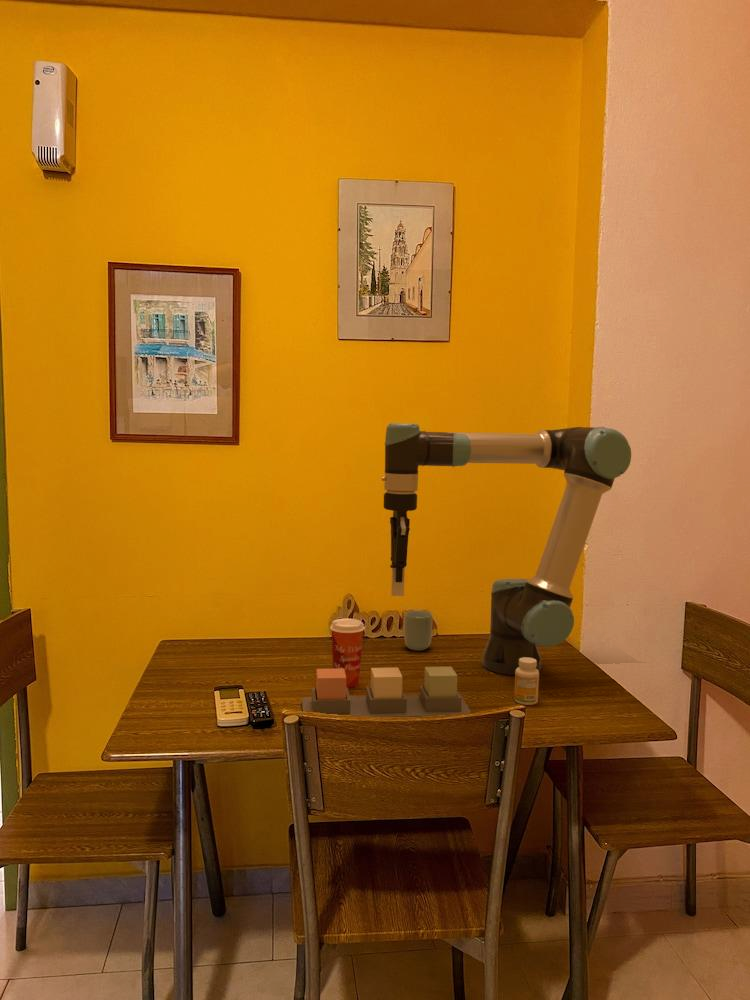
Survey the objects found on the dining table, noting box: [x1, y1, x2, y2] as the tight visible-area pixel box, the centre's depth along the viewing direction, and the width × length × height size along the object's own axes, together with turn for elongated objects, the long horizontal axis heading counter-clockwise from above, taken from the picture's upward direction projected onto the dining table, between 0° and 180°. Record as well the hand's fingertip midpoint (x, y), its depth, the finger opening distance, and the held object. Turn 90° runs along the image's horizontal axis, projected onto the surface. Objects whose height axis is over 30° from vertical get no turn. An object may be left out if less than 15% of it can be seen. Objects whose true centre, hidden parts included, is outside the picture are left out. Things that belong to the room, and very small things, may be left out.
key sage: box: [423, 666, 458, 697], centre depth 163 cm, size 6×6×5 cm
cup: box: [403, 609, 434, 652], centre depth 207 cm, size 8×8×10 cm
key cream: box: [370, 667, 403, 699], centre depth 162 cm, size 6×6×5 cm
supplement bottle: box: [513, 657, 540, 706], centre depth 170 cm, size 5×5×10 cm
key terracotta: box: [315, 668, 346, 700], centre depth 160 cm, size 6×6×5 cm
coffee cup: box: [329, 617, 366, 688], centre depth 178 cm, size 8×8×15 cm
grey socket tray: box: [301, 685, 472, 717], centre depth 162 cm, size 36×12×4 cm, turn 97°
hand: (397, 595), depth 170 cm, fingers closed
